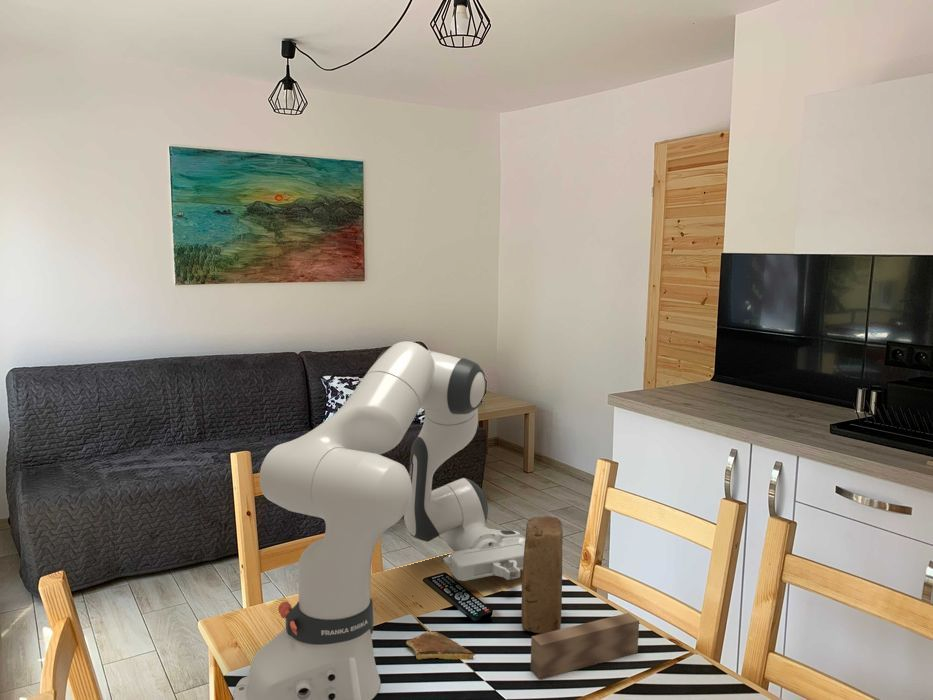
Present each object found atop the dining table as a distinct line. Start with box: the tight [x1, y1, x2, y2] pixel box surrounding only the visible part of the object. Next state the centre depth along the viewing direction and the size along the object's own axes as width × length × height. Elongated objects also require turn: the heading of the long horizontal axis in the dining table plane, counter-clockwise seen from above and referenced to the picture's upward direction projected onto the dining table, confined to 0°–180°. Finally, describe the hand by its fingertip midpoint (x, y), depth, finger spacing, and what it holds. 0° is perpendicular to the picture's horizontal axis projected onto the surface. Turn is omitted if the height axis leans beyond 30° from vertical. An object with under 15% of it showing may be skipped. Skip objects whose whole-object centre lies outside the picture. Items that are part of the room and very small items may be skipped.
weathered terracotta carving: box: [521, 516, 564, 634], centre depth 134 cm, size 11×8×20 cm
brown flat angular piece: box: [405, 631, 476, 660], centre depth 123 cm, size 11×8×2 cm
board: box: [530, 612, 640, 680], centre depth 122 cm, size 20×3×6 cm, turn 115°
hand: (514, 575), depth 144 cm, fingers closed
